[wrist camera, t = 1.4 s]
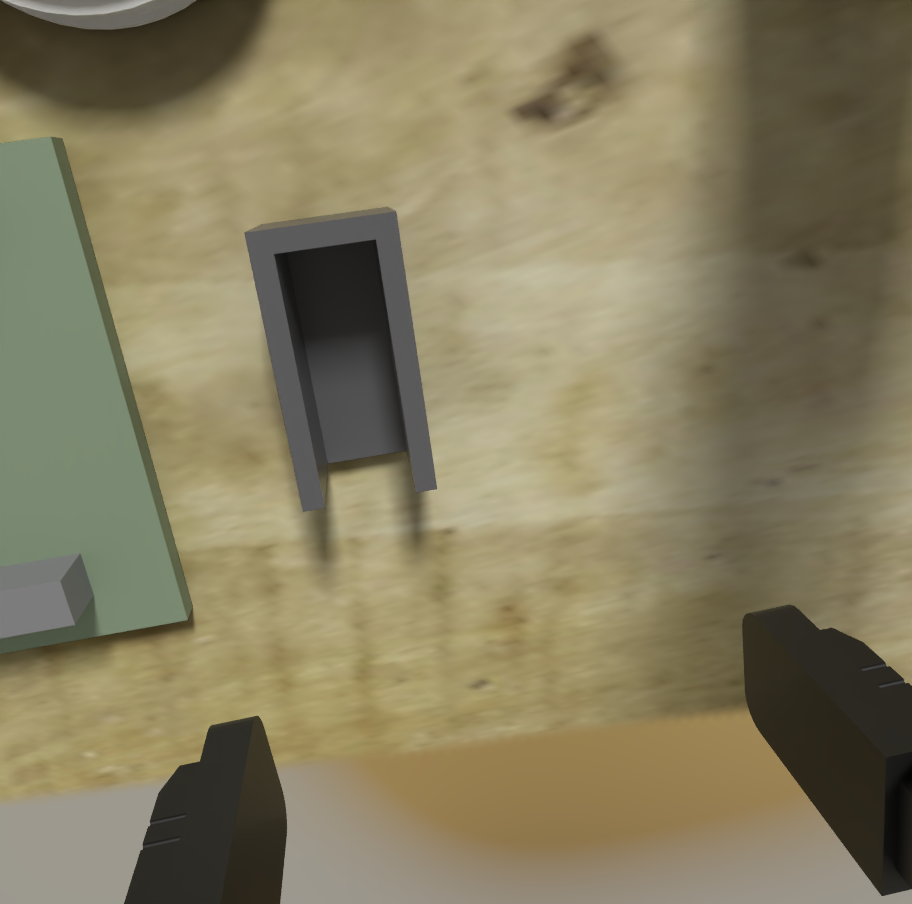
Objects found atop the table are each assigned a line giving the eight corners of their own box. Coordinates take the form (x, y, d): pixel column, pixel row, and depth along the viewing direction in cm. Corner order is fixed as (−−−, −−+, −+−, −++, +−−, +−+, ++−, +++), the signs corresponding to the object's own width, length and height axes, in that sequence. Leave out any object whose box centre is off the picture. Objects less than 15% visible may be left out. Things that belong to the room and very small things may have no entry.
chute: (262, 224, 32) (244, 232, 26) (387, 206, 32) (396, 211, 26) (310, 459, 35) (303, 511, 29) (422, 440, 35) (437, 489, 30)
